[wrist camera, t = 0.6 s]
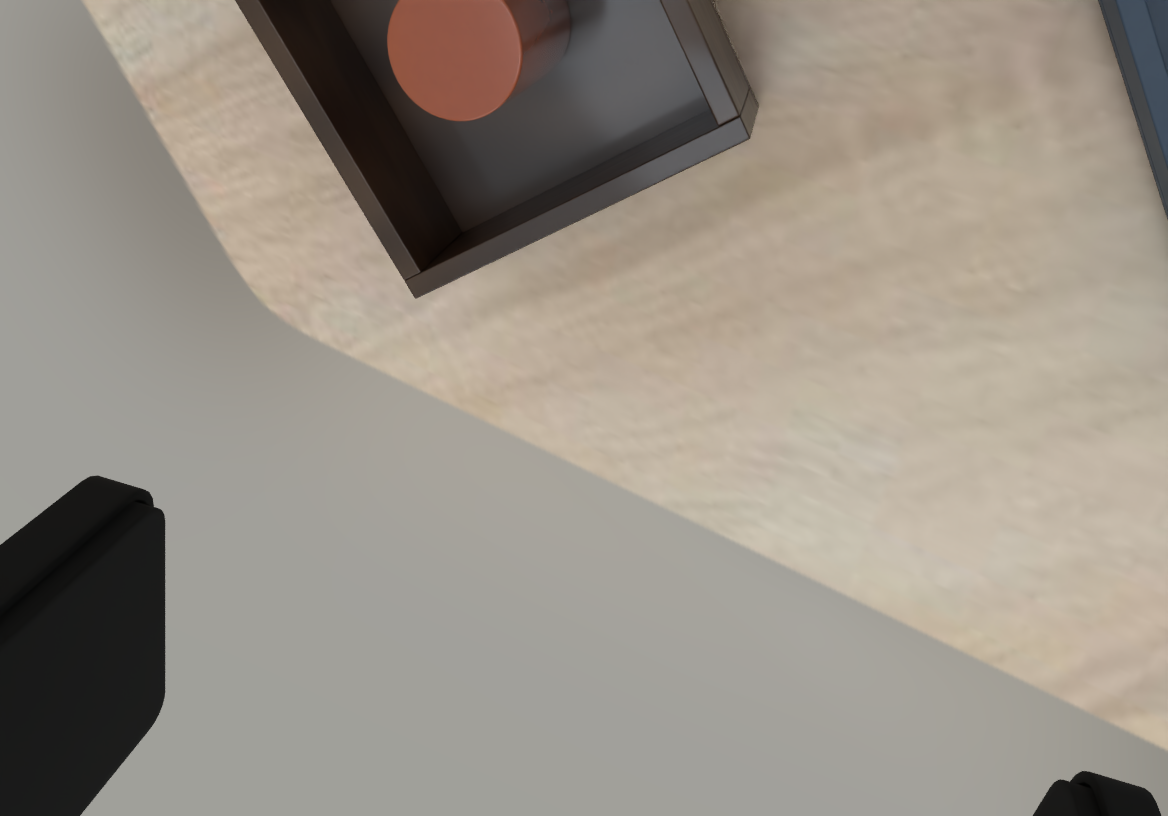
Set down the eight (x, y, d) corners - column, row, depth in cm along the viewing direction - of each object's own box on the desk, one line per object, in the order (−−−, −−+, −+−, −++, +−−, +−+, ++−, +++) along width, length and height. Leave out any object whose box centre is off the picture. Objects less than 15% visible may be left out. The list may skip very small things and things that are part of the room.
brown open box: (279, -61, 38) (201, -55, 33) (589, -276, 33) (550, -305, 28) (460, 253, 42) (415, 299, 37) (759, 106, 37) (750, 138, 32)
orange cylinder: (435, -4, 37) (360, 16, 31) (534, -66, 35) (476, -57, 29) (493, 105, 39) (432, 145, 32) (592, 51, 37) (547, 82, 31)
